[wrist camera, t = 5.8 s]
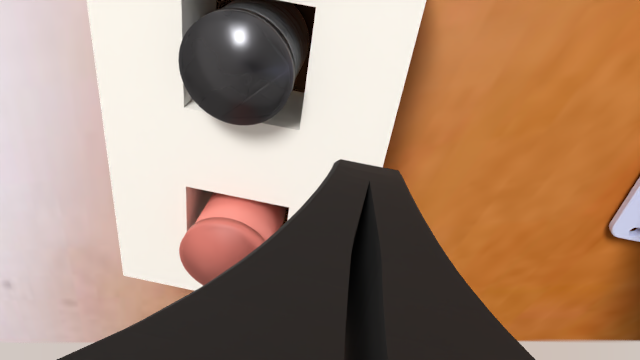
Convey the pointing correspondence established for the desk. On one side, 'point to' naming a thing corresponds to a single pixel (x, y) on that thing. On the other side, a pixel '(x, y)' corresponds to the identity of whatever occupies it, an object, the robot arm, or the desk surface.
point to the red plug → (227, 234)
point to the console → (228, 139)
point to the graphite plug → (244, 59)
